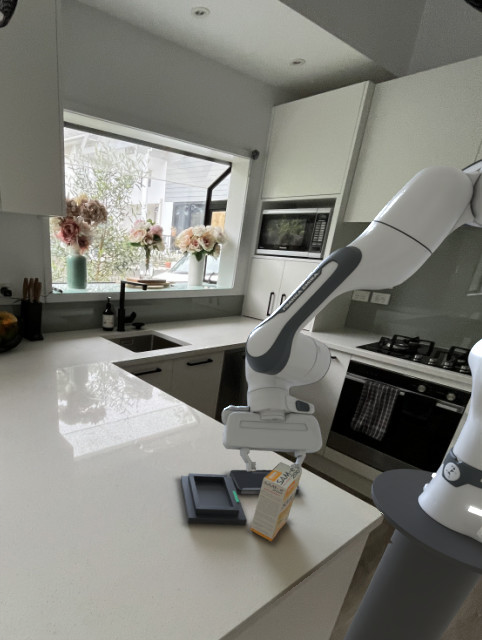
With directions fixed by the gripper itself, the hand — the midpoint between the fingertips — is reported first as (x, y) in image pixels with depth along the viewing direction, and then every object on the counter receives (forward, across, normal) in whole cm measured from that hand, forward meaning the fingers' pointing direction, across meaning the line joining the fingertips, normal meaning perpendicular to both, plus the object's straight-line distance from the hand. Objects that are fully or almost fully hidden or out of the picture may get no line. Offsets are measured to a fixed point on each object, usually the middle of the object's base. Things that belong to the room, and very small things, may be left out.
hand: (274, 472), depth 76 cm
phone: (0, +3, +15) cm, 15 cm away
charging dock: (+5, -11, +10) cm, 16 cm away
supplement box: (+10, 0, +5) cm, 12 cm away
